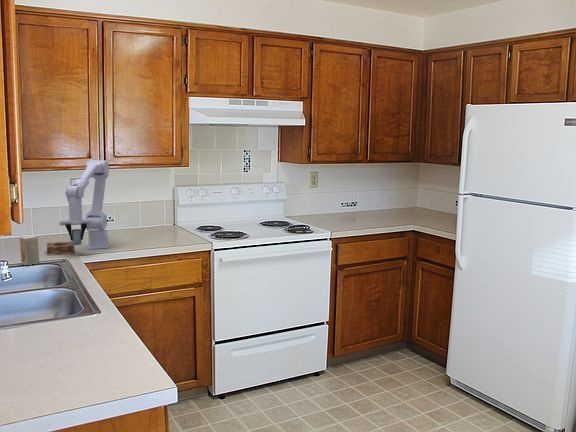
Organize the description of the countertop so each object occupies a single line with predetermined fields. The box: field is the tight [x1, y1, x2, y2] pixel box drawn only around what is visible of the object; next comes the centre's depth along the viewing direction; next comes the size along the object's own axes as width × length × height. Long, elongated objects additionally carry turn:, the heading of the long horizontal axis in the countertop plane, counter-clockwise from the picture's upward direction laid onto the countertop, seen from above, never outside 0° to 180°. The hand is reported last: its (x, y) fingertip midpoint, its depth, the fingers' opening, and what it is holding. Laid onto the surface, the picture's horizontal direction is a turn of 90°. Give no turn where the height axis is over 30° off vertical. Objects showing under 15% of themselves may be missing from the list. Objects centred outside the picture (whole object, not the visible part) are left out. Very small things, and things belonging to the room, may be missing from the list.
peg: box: [71, 228, 82, 246], centre depth 269 cm, size 4×4×7 cm
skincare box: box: [19, 235, 40, 266], centre depth 250 cm, size 6×4×12 cm
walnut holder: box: [46, 241, 76, 256], centre depth 276 cm, size 12×12×4 cm
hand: (76, 239), depth 269 cm, fingers closed on peg, 4 cm apart
